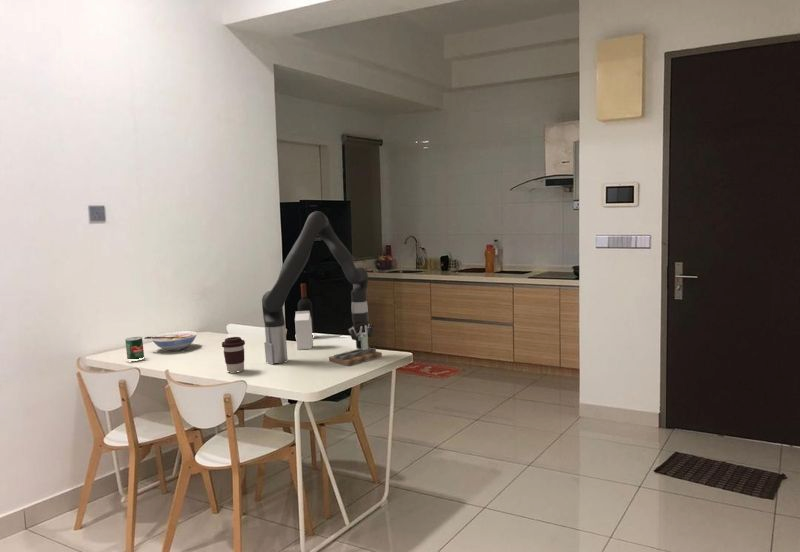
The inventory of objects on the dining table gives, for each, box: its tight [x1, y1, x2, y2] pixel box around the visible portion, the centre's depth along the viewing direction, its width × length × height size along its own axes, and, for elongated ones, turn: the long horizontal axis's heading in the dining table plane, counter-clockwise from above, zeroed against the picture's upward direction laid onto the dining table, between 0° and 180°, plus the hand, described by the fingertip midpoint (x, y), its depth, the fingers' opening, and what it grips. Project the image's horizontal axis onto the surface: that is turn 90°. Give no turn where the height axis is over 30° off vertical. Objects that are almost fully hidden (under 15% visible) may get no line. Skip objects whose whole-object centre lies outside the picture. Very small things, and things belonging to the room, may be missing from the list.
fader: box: [355, 334, 369, 351], centre depth 294 cm, size 3×5×8 cm, turn 42°
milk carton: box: [294, 310, 314, 351], centre depth 320 cm, size 7×7×19 cm
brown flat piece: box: [328, 346, 383, 367], centre depth 292 cm, size 20×14×4 cm
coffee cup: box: [221, 336, 246, 372], centre depth 282 cm, size 10×10×15 cm
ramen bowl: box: [144, 330, 198, 351], centre depth 335 cm, size 25×23×8 cm
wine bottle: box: [297, 283, 315, 334], centre depth 343 cm, size 8×8×30 cm
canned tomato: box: [124, 336, 145, 360], centre depth 315 cm, size 8×8×11 cm
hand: (362, 347), depth 294 cm, fingers closed on fader, 3 cm apart
